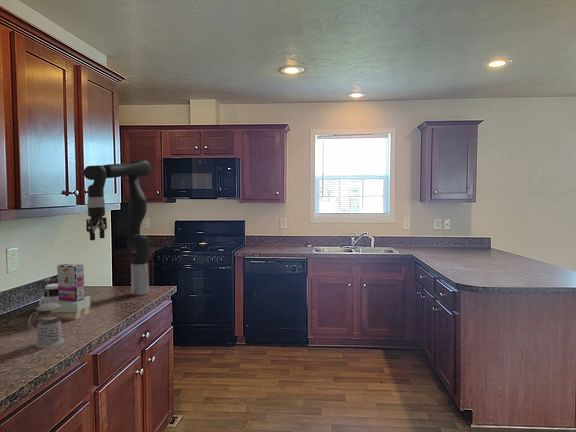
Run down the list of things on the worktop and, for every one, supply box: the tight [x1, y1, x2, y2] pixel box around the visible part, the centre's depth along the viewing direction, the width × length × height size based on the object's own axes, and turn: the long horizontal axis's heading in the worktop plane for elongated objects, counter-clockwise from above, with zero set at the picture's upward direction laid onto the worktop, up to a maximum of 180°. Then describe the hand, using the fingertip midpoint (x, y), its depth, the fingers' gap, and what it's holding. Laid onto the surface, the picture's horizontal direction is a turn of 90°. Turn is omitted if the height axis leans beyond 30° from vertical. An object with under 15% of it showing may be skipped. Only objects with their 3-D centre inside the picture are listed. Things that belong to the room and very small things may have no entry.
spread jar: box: [38, 283, 59, 306], centre depth 199 cm, size 12×11×12 cm
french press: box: [27, 277, 66, 348], centre depth 151 cm, size 10×12×25 cm
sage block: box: [50, 295, 91, 312], centre depth 186 cm, size 12×12×4 cm
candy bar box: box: [56, 263, 85, 301], centre depth 186 cm, size 11×5×16 cm, turn 71°
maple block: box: [49, 304, 92, 321], centre depth 186 cm, size 12×12×4 cm
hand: (97, 239), depth 197 cm, fingers open, 8 cm apart
